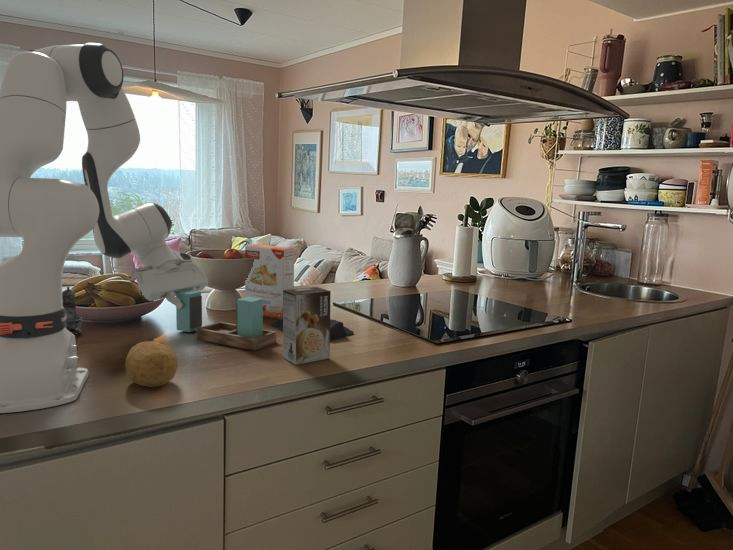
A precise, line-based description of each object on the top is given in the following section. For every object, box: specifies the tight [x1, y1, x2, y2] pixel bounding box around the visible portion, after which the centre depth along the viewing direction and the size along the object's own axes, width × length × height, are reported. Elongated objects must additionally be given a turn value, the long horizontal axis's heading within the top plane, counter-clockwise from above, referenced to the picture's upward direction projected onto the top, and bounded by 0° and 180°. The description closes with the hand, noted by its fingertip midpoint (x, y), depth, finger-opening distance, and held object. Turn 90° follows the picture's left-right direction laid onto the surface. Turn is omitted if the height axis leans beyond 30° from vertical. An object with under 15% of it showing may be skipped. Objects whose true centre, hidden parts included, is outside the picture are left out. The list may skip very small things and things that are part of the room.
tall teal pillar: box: [175, 290, 203, 333], centre depth 145 cm, size 5×4×10 cm
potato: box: [124, 340, 178, 388], centre depth 108 cm, size 10×14×8 cm
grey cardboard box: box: [282, 286, 332, 366], centre depth 126 cm, size 9×6×16 cm
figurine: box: [62, 285, 83, 335], centre depth 140 cm, size 6×6×12 cm
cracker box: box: [244, 243, 295, 320], centre depth 165 cm, size 14×6×21 cm, turn 64°
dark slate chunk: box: [271, 318, 355, 341], centre depth 151 cm, size 15×22×5 cm
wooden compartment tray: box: [196, 321, 277, 352], centre depth 139 cm, size 18×9×3 cm, turn 64°
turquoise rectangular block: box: [235, 296, 264, 338], centre depth 137 cm, size 5×4×10 cm
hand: (190, 305), depth 144 cm, fingers closed on tall teal pillar, 4 cm apart
